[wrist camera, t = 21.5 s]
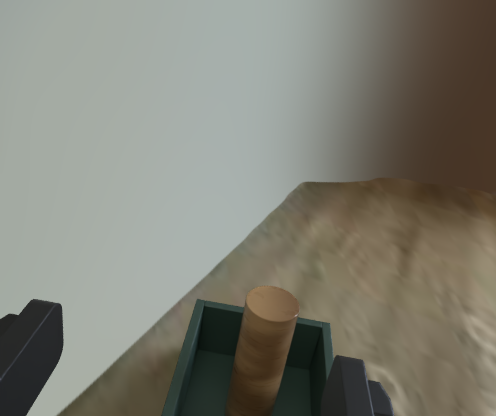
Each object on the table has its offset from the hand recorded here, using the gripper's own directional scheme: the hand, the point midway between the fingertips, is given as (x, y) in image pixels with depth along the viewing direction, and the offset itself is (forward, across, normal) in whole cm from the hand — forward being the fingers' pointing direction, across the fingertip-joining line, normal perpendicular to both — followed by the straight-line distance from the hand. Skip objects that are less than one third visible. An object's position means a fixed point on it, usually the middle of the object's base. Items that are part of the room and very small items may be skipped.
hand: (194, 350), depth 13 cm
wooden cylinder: (+17, -4, +23) cm, 29 cm away
